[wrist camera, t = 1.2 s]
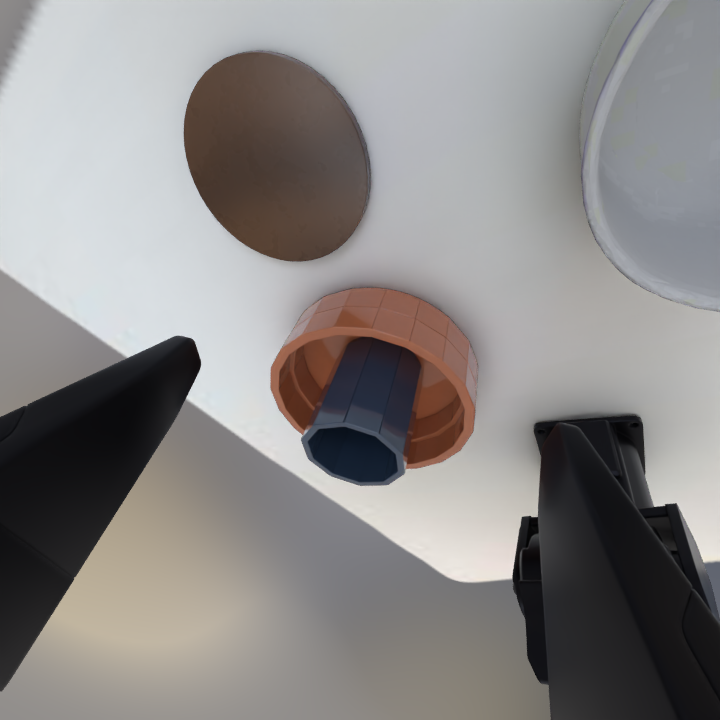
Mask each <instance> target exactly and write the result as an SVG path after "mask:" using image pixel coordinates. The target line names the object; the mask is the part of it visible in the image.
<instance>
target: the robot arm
mask: <svg viewBox="0 0 720 720" xmlns="http://www.w3.org/2000/svg"><path fill="white" fill-rule="evenodd" d="M200 367H201V360H200V357H199V354H198V350H197V347H196V344H195V342H194V340H193V339H191V338H188V337H183V336H174V337H172V338H170V339H168V340H166V341H163V342H161V343H159V344H157V345H155V346H153V347H151V348H148V349H146V350H144V351H142V352H140V353H138V354H135V355H133V356H131V357H129V358H127V359H125V360H123V361H120V362H118V363H116V364H114V365H112V366H110V367H108V368H105V369H103V370H101V371H99V372H97V373H95V374H92V375H90V376H88V377H86V378H84V379H82V380H80V381H77V382H75V383H73V384H71V385H69V386H66V387H65V388H62V389H60V390H58V391H56V392H54V393H51V394H49V395H47V396H45V397H43V398H41V399H39V400H36V401H34V402H32V403H30V404H28V406H23V407H21V408H19V409H17V410H15V411H12V412H10V413H8V414H6V415H4V416H1V417H0V691H2V690H3V689H4V688H5V687H6V685H7V684H8V683H9V681H10V680H11V678H12V677H13V675H14V673H15V672H16V670H17V669H18V667H19V666H20V664H21V662H22V661H23V659H24V657H25V656H26V654H27V653H28V651H29V650H30V648H31V647H32V645H33V643H34V642H35V640H36V638H37V637H38V636H39V634H40V632H41V631H42V629H43V628H44V626H45V624H46V623H47V621H48V620H49V618H50V616H51V615H52V614H53V612H54V610H55V608H56V607H57V606H58V604H59V602H60V601H61V599H62V598H63V596H64V595H65V593H66V591H67V590H68V588H69V587H70V585H71V584H72V582H73V580H74V577H76V575H77V574H78V572H79V571H80V569H81V567H82V566H83V564H84V563H85V561H86V559H87V558H88V556H89V555H90V553H91V551H92V550H93V548H94V547H95V545H96V544H97V542H98V540H99V539H100V537H101V536H102V534H103V533H104V531H105V530H106V528H107V526H108V525H109V523H110V522H111V520H112V518H113V517H114V515H115V514H116V512H117V511H118V509H119V507H120V506H121V504H122V503H123V501H124V500H125V498H126V496H127V495H128V493H129V492H130V490H131V489H132V487H133V485H134V484H135V482H136V481H137V479H138V477H139V476H140V474H141V473H142V471H143V470H144V468H145V466H146V465H147V463H148V462H149V460H150V458H151V457H152V455H153V454H154V452H155V451H156V449H157V448H158V446H159V444H160V443H161V441H162V440H163V438H164V436H165V435H166V433H167V432H168V430H169V429H170V427H171V425H172V424H173V422H174V420H175V418H176V417H177V415H178V413H179V411H180V409H181V407H182V405H183V403H184V401H185V399H186V397H187V395H188V393H189V391H190V389H191V387H192V385H193V383H194V381H195V379H196V377H197V375H198V373H199V370H200ZM541 429H542V430H541ZM534 434H535V437H536V441H537V444H538V447H539V451H540V454H541V468H540V484H539V501H538V517H531V516H525V517H522V520H521V527H520V529H519V536H518V543H517V549H516V556H515V562H514V569H513V576H512V578H513V590H514V593H515V594H516V595H517V599H518V602H519V606H520V608H521V611H522V613H523V615H524V617H525V620H526V636H527V656H528V659H529V662H530V664H531V666H532V668H533V671H534V673H535V675H536V677H537V679H538V680H539V682H540V683H542V684H547V685H549V698H550V712H551V720H720V618H719V614H718V610H717V606H716V602H715V598H714V593H713V589H712V585H711V582H710V579H709V576H708V574H707V571H706V568H705V566H704V563H703V560H702V558H701V555H700V552H699V550H698V547H697V544H696V542H695V540H694V538H693V536H692V534H691V532H690V530H689V528H688V525H687V523H686V521H685V519H684V517H683V515H682V513H681V511H680V509H679V507H678V505H677V503H675V504H665V506H660V507H654V505H653V502H652V499H651V495H650V492H649V489H648V485H647V482H646V478H645V457H644V437H643V424H642V420H641V418H640V417H638V416H620V417H607V418H594V419H582V420H569V421H556V422H544V423H537V424H535V425H534Z"/></svg>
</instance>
